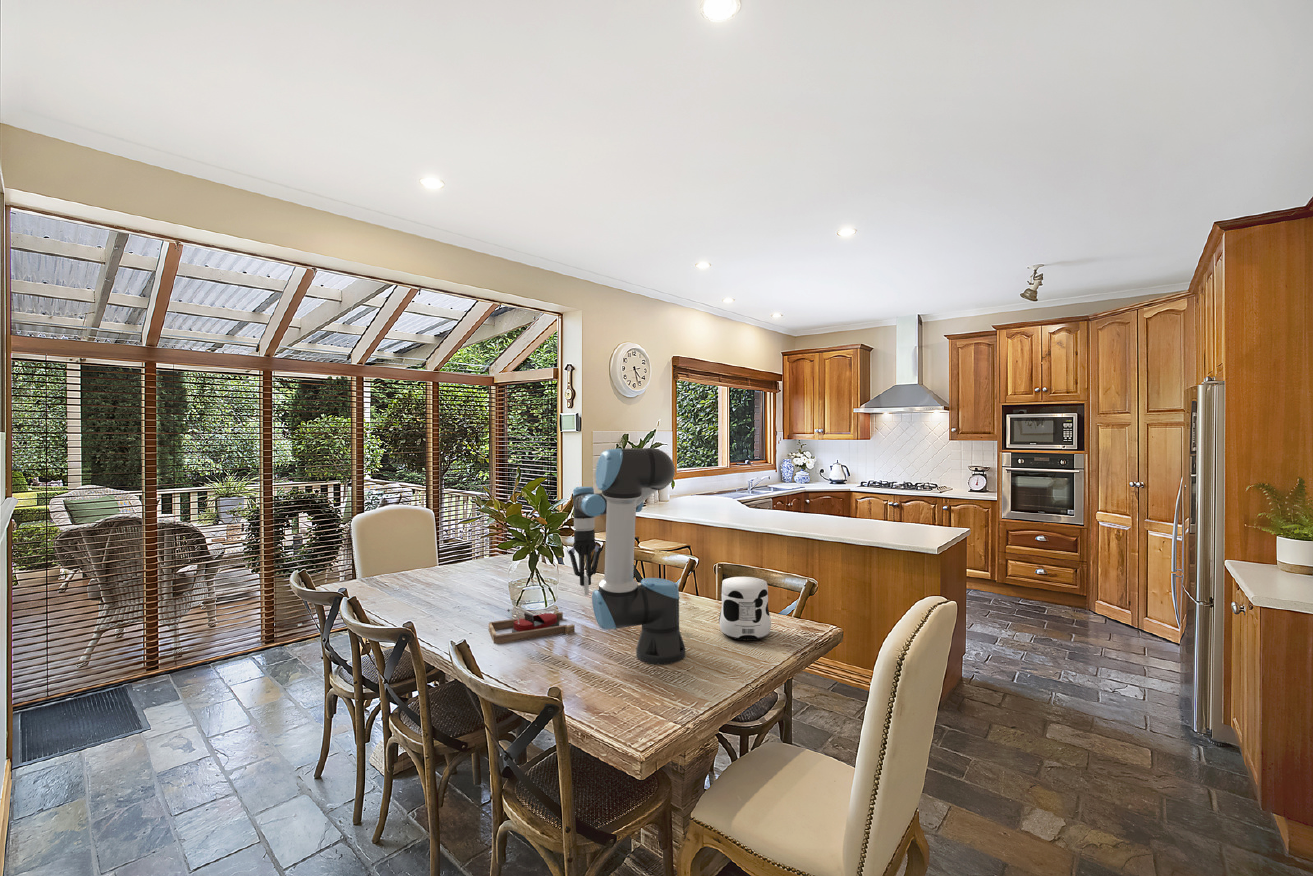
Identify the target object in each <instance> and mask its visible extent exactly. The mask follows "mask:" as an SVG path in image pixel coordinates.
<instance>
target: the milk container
mask: <svg viewBox="0 0 1313 876" xmlns="http://www.w3.org/2000/svg"><path fill="white" fill-rule="evenodd" d="M768 586H769V585H768V582H767V581H766V580H765V579H762V578H758V577H754V576H753V577H752V576H733V577H729V578H724V579H723V580H722V584H721V594H720V595H721V609H720V612H719V618H718V621H719V623H718V624H719V627H720V631H721V633H722V634H724V635H725V637H728V638H730V639H734V640H740V641H755V640H761V639H763V638H765V637H767V636H768V635H769V634H770V632H771V627H772V619H771V614H770V611H769V587H768Z"/></svg>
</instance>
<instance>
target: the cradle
mask: <svg viewBox="0 0 1313 876" xmlns="http://www.w3.org/2000/svg"><path fill="white" fill-rule="evenodd" d="M552 614H555V615H557V621H563V619H564V613H563V611H554V612H552ZM518 618H519V619H524V620H525V616H524V617H518ZM516 620H518V619H517V618H511V619H503V620H497V621H489V623H488V632H489V635H490V637H491V640H492V641H493V644H496V645H499V644H500V645H501V644H506V643H512V642H519V641H524V640H530V639H539V638H547V637H552V636H558V635H571V634H574V633H576V632H575V631H576V629H575V628H576V627H575V624H572V623H571V624H569V625H568V624H562V625H559V626H554V627H547V628H540V629H534V630H527V631H520V632H513V633H512V632H507V633H501V634H497V632H496V630H503V629H511V628H512V629H513V628H514V621H516Z"/></svg>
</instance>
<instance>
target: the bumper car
mask: <svg viewBox="0 0 1313 876" xmlns="http://www.w3.org/2000/svg"><path fill="white" fill-rule="evenodd" d="M506 611H507V613H509V612H511V611H513V612H514V613H515V615H516V619H518V620H516V621H514V627H513V628H512V629H511V633H513V632H520V631H527V630H534V629H540V628H547V627H554V626H560V622H559V620H557V615H555V614H553V612H552V613H551V612H546V613H545V612H544V613H540V614H534V615H533V614H531V613H528V612H524V613H523V614H524V617H525V620H524V619H519V618H520V617H519V616H518V615H519V614H518V612H517V611H516V610H515V609H510V608H508V609H507V610H506Z"/></svg>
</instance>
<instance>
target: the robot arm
mask: <svg viewBox="0 0 1313 876" xmlns="http://www.w3.org/2000/svg"><path fill="white" fill-rule="evenodd" d="M597 459H598V460H597V462H596V468H595V484H596V487H597V489H598V490H599V491H601V493H595V491H594V490H595V488H594V487H593V486H576V487H574V488H573V492H572V493H573V494H572V498H573V499H572V501H573V505H572V506H573V528H574V531H573V545H572V547H570V548H568V549H566V552H567V554H568V555H569V557H570V558H569V559H570V561H571V565H572V569H573V573H574V575H575V576H577V577H578V578H579V586H581V587H582V595H584V596H589V594H590V592H589V590H590V589H589V588H590V587H589V586H591V584H592V577H593V575H595V574H596V573H597V570H598V565H599V559H600V554H601V553H602V550H603V547H601V546H598V544H597V542H596V535H595V534H596V531H595V530H596V529H595V526H596V524H595V517H599V516H602V515H603V516H605V517H606V519H605V520H606V523H605V545H604V546H605V547H604V549H605V550H604V573H603V575H604V577H602V579H600V580H599V583H598V589H595V590H593V591H592V594H591V603H592V604H591V605H592V610H593V615H594V618H595V620H596V621H595V622H596V623H597V625H598V626H599V628H600V629H602V630H618V629H623V628H629V627H635V626H638V627H639V626H641V632H640V635H639V637H638V641H637V644H636V648H635V650H636V651H635V653H636V655H635V656H636V658H637V659H638V660H639V661H640V662H643V663H646V664H650V665H670V664H674V663H679V662H680V661H682V660H683V659H685V657H686V647H685V643H684V640H683V637H682V634H681V632H680V599H681V598H680V592H679V590H680V589H679V586H678V584H677V583H676V582H674V581H672V580H669V579H665V578H661V577H660V578H659V577H645V578H642V579H641V580H640V584H638V581H637V580H636V579H635V578H634V570H635V569H634V567H635V565H634V564H635V541H636V540H635V539H636V520H637V519H636V514H637V513H640V512H642V510H643V507H644V501H646V500H647V499H648V498H649V497H651V496H652V495H653V494H654V493H655V492H657V491H662V490H663V489H665V488H668V486H669V485H670V484H671V483H672V482H673V480H674V477H675V473H676V467H675V464H674V462H673V460H672V458H671V457H670V456H669V454H667V453H666V452H664V451H663V450H660V449H659V448H653V447H647V448H643V447H642V448H639V447H638V448H632V447H630V448H628V447H627V448H625V447H624V448H619V447H617V448H611V449H610V448H609V449H606V450H604V451H602V452H601V453H600V456H599V457H598V458H597ZM583 518H584V519H583ZM575 552H576V553H577V554H578V563H577V559H576V556H575ZM593 552H594V554H593ZM592 554H593V559H591V558H592ZM585 574H586V575H585Z"/></svg>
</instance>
